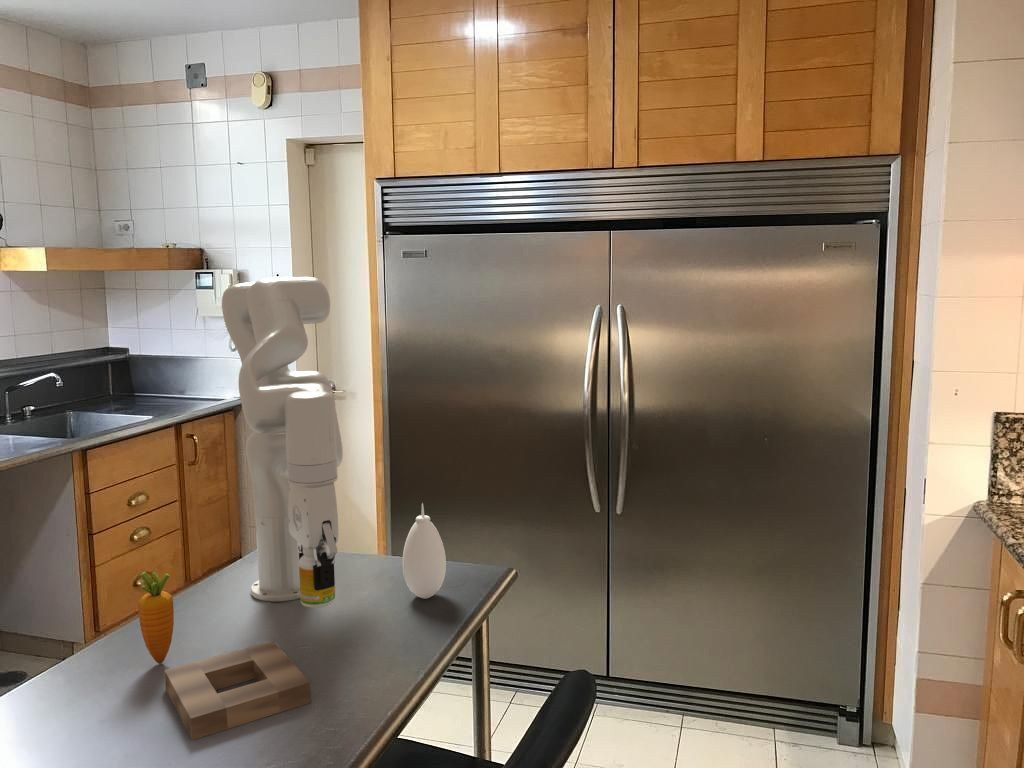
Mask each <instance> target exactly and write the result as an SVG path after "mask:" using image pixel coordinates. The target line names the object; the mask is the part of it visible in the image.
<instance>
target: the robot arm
mask: <svg viewBox="0 0 1024 768" xmlns="http://www.w3.org/2000/svg"><path fill="white" fill-rule="evenodd" d="M221 309H222V310H221V311H222V316H223V317H222V318H223V321H224V325H225V327H226V330H227V332H228V335H229V337H230V339H231V341H232V343H233V345H234V346H235V349H236V351H237V353H238V356H239V358H240V362H241V367H240V369H239V374H238V392H239V398H240V403H241V408H242V412H243V417H244V420H245V422H246V425H247V426H248V427H249V429H250V430H252V431H254V432H252V433H251V434H250V435H249V436H248V438H247V440H246V443H245V454H246V460H247V465H248V470H249V474H250V478H251V484H252V486H251V487H252V494H253V502H254V503H253V505H254V506H253V508H254V518H255V519H254V520H255V536H256V538H255V539H256V549H257V550H256V555H257V572H258V580H256V581H254V582H253V583H252V584H251V586H250V593H251V595H252V597H253V598H255V599H257V600H260V601H264V602H272V603H273V602H274V603H275V602H287V601H293V600H298V599H300V578H299V560H300V558H301V557H302V556H303V555H304V554H303V546H304V547H305V548H307V549H309V550H312V549H313V552H314V559H315V565H314V566H313V577H314V589H315V590H316V591H318V590H322V589H327V588H331V587H334V585H336V582H335V581H336V579H335V562H336V559H335V557H336V555H337V553H338V547H337V543H338V542H339V515H338V513H339V511H338V504H337V503H338V502H337V496H336V495H337V493H336V488H335V487H336V486H335V482H337V481H338V477H339V476H338V475H339V474H338V468H339V467H340V465H341V464H342V462H343V452H344V451H343V442H342V437H341V436H342V435H341V431H340V425H339V420H338V419H339V418H338V414H337V409H336V399H335V394H334V392H333V389H332V384H331V382H330V381H329V379H328V377H327V376H326V375H325V374H324V373H322V372H320V371H317V370H304V371H291V370H290V369H289V365H291V364H292V363H294V362H296V361H298V360H299V359H300V358H301V357H302V356H303V355H304V354H305V352H306V350H307V348H308V346H309V344H308V343H309V339H308V335H307V332H306V328H305V326H304V325H309V324H310V325H311V324H322V323H323V322H325V321H326V320H327V319H328V317H329V315H330V312H331V300H330V295H329V291H328V289H327V287H326V285H325V284H324V283H323V282H322V280H321V279H319V278H317V277H313V276H312V277H311V276H297V277H296V276H295V277H294V276H285V277H283V276H282V277H266V278H265V277H264V278H261V279H259V280H257V281H250V282H249V281H248V282H241V283H236V284H233V285H230V286H229V287H227V288H226V289H225V290H224V292H223V293H222V298H221ZM320 541H324V543H325V544H322V545H318V544H319V542H320ZM324 548H326V549H325V552H322V554H321V556H320V553H319V549H324Z"/></svg>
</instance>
